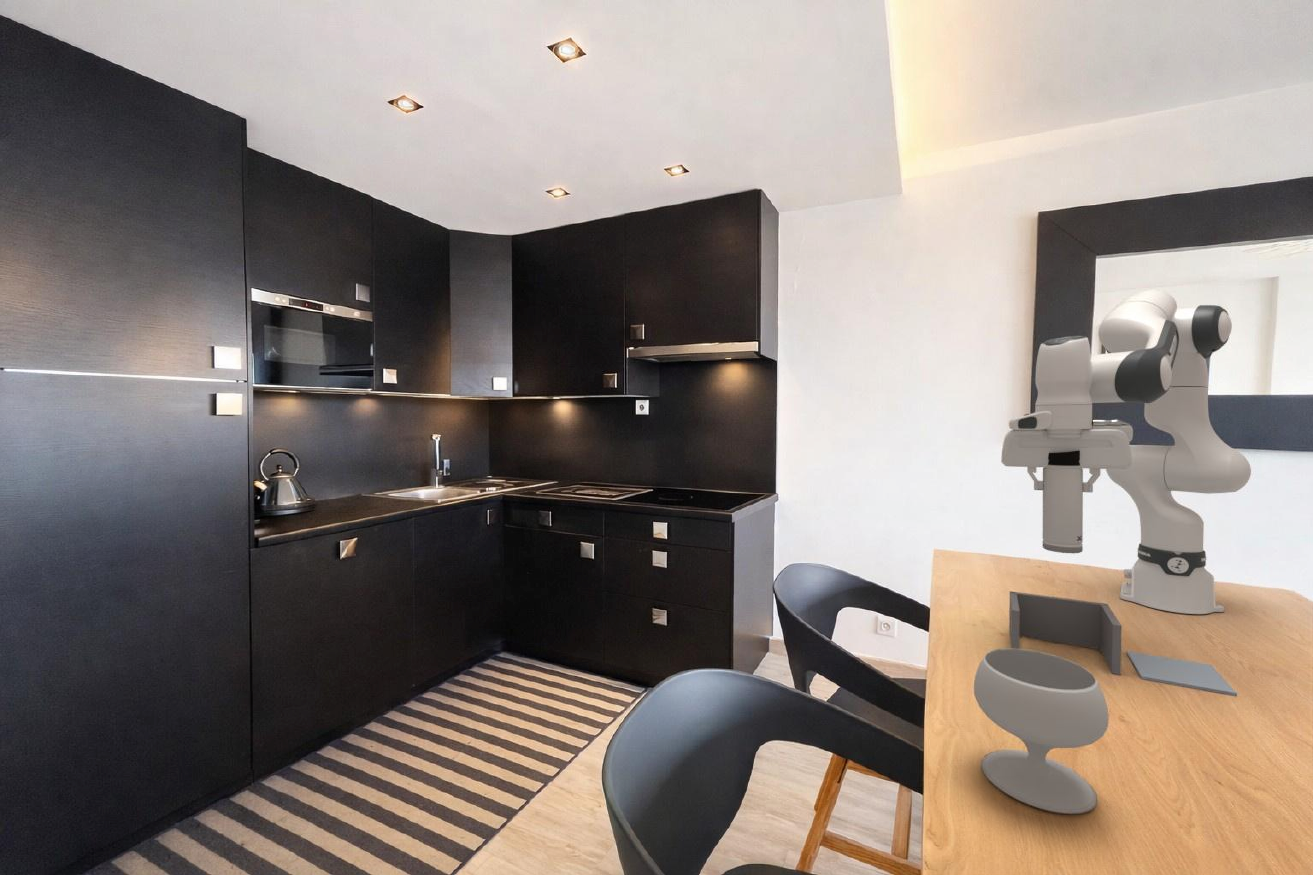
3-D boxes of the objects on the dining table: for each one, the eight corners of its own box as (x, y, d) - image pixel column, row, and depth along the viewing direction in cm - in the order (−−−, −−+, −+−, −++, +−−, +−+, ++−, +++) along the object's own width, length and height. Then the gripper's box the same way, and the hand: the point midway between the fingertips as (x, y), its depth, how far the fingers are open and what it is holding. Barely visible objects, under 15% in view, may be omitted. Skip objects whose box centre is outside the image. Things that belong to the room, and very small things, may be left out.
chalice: (949, 765, 73) (950, 655, 72) (1016, 739, 79) (1017, 637, 78) (1062, 838, 60) (1064, 706, 60) (1132, 801, 66) (1134, 679, 65)
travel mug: (1091, 554, 102) (1092, 448, 102) (1052, 552, 103) (1052, 448, 103) (1073, 547, 108) (1074, 447, 108) (1036, 545, 109) (1036, 447, 109)
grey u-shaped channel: (1009, 632, 117) (1009, 591, 117) (1106, 648, 109) (1107, 603, 108) (1011, 655, 106) (1012, 610, 105) (1120, 675, 97) (1121, 625, 97)
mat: (1126, 653, 106) (1126, 650, 106) (1211, 667, 100) (1211, 664, 100) (1141, 678, 96) (1141, 676, 96) (1236, 696, 90) (1236, 693, 90)
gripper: (1129, 419, 102) (1128, 491, 103) (1001, 420, 113) (1000, 486, 113) (1137, 419, 97) (1136, 496, 97) (1001, 421, 108) (1001, 490, 108)
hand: (1062, 491), depth 106 cm, fingers closed on travel mug, 6 cm apart
